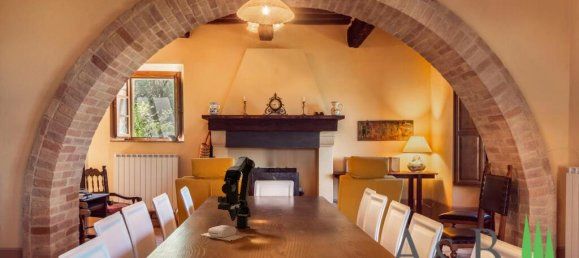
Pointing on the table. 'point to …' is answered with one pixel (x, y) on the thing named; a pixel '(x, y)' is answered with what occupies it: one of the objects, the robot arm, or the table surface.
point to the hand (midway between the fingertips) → (232, 220)
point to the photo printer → (222, 231)
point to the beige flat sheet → (231, 237)
